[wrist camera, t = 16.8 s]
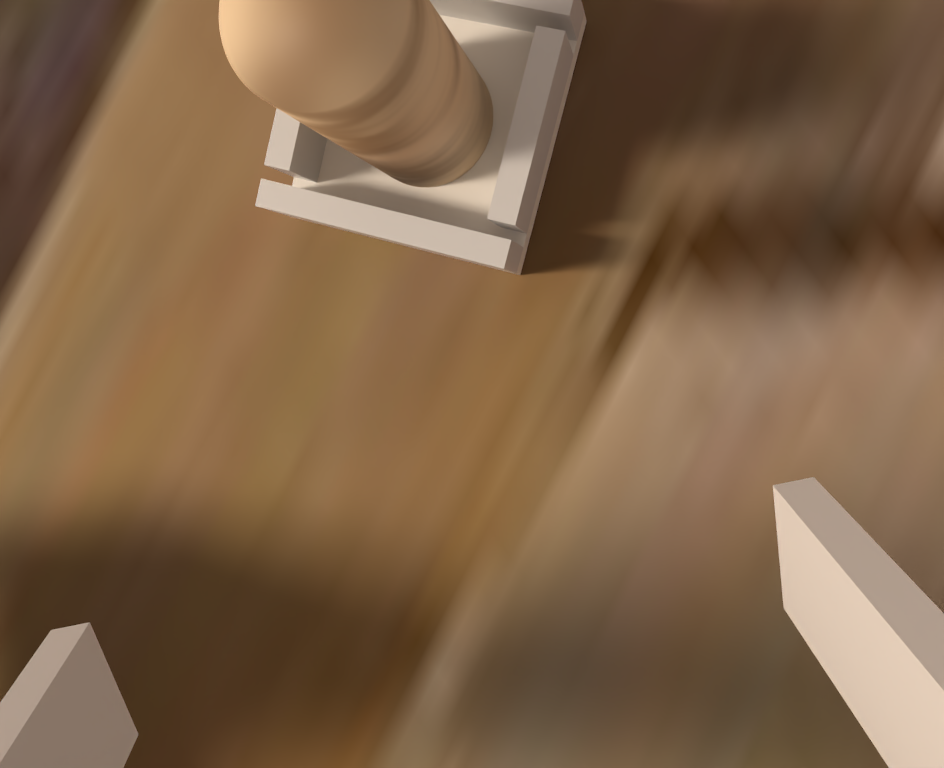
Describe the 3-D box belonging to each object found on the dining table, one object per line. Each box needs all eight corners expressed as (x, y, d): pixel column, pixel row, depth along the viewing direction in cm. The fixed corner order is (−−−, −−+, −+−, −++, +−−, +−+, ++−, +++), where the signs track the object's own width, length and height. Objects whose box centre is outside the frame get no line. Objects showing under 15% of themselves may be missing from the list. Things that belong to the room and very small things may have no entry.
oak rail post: (350, 170, 38) (199, 89, 26) (382, 39, 38) (244, -111, 25) (473, 201, 37) (379, 131, 25) (508, 66, 37) (430, -77, 24)
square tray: (294, 217, 40) (255, 205, 36) (349, -24, 39) (314, -63, 35) (520, 275, 38) (503, 268, 34) (586, 21, 37) (577, -16, 33)
